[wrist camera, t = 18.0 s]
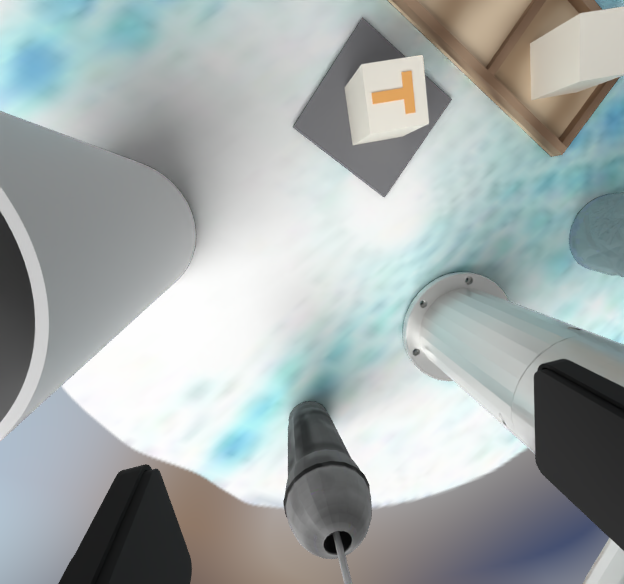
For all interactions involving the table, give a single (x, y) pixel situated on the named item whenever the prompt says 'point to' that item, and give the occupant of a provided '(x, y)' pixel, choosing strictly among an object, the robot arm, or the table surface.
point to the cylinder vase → (76, 256)
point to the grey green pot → (600, 235)
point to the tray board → (509, 58)
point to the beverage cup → (324, 488)
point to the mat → (335, 121)
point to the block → (578, 54)
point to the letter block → (387, 99)
